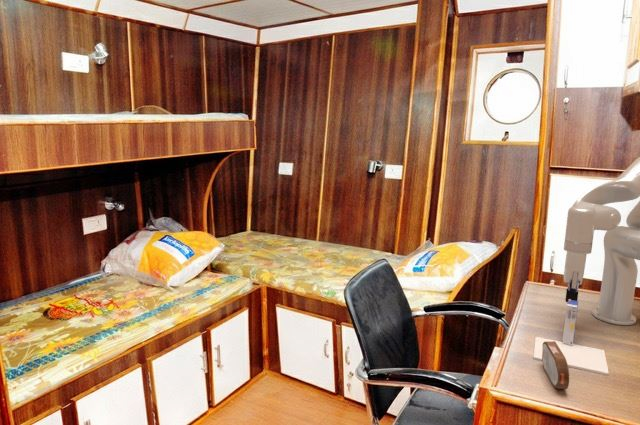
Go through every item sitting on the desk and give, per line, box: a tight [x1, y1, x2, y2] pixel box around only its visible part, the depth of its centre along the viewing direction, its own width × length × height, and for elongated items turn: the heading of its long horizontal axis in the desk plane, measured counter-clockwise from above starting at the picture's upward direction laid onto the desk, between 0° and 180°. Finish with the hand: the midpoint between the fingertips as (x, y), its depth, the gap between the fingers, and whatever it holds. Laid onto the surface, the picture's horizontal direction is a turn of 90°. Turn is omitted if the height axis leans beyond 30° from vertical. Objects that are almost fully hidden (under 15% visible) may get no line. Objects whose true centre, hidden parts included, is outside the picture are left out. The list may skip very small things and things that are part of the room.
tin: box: [541, 340, 570, 390], centre depth 117 cm, size 15×3×8 cm, turn 168°
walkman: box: [561, 299, 579, 346], centre depth 137 cm, size 8×3×12 cm, turn 148°
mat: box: [532, 336, 610, 376], centre depth 130 cm, size 14×18×1 cm
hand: (571, 301), depth 145 cm, fingers closed
